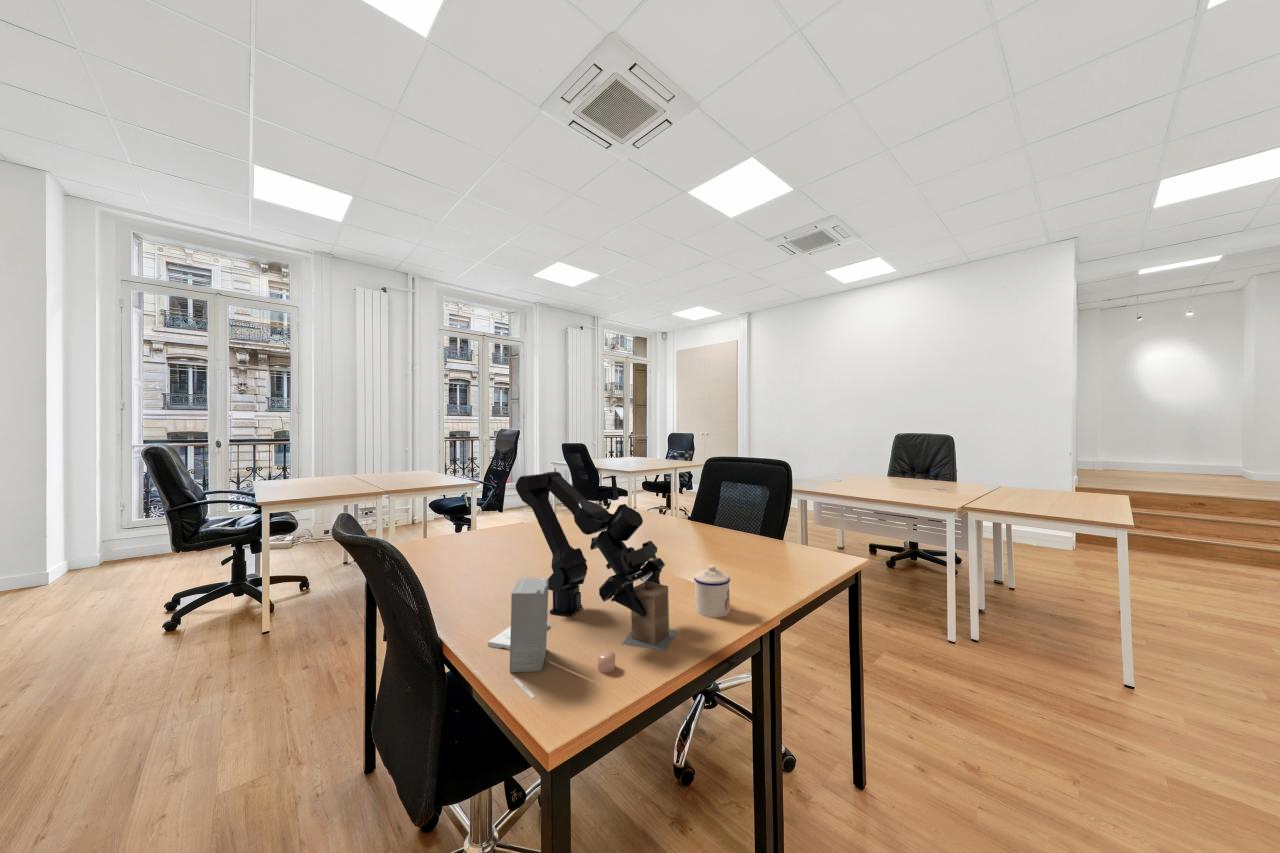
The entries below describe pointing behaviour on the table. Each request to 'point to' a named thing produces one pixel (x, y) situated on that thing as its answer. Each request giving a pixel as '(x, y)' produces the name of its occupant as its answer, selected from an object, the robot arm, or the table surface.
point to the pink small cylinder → (606, 662)
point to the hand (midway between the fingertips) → (655, 610)
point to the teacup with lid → (712, 593)
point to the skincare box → (528, 624)
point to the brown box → (651, 613)
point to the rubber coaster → (659, 646)
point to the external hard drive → (504, 639)
